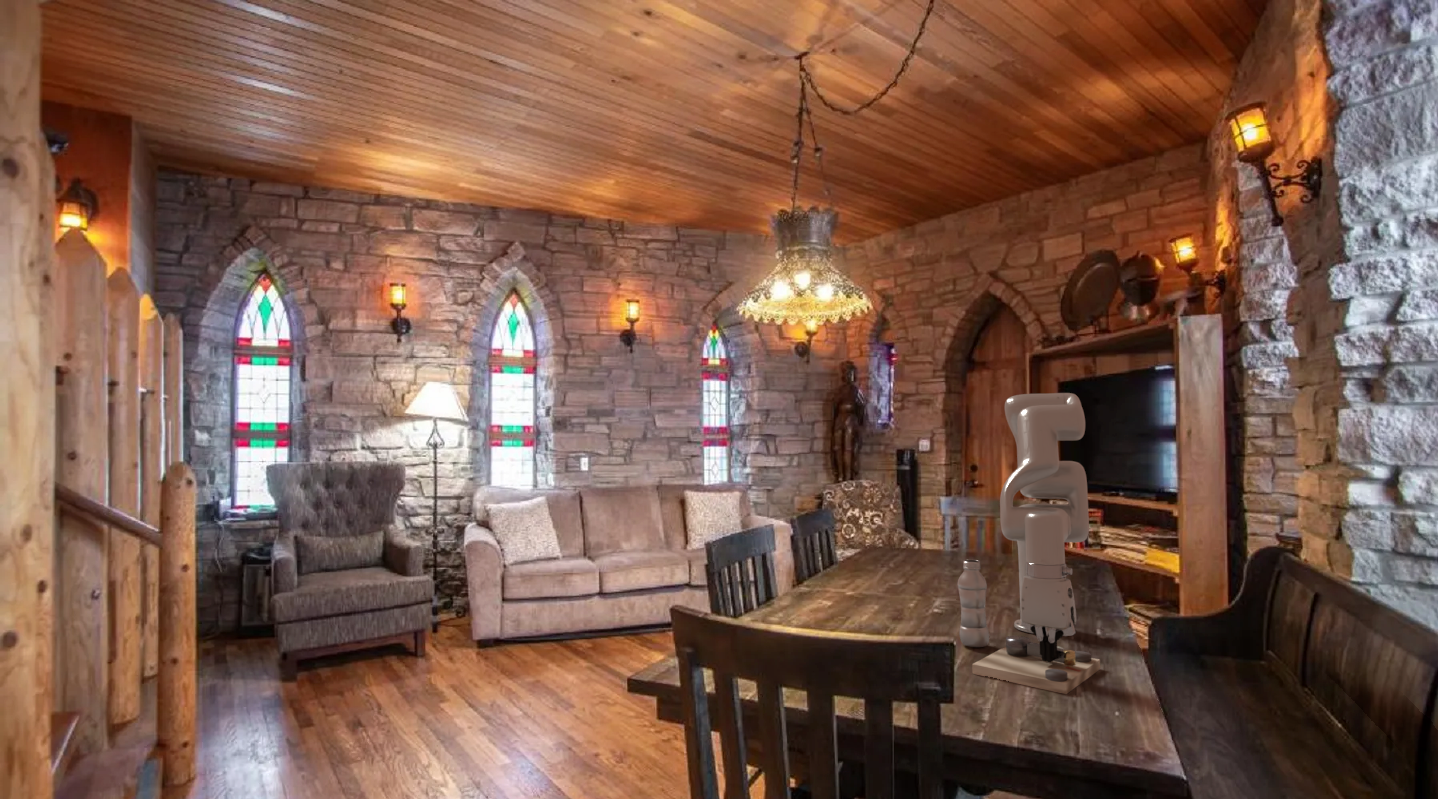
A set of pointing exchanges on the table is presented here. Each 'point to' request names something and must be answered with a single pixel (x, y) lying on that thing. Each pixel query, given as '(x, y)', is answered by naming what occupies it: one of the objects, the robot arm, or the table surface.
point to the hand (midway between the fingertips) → (1048, 659)
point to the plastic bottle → (973, 605)
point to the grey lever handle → (1036, 650)
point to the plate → (1037, 670)
